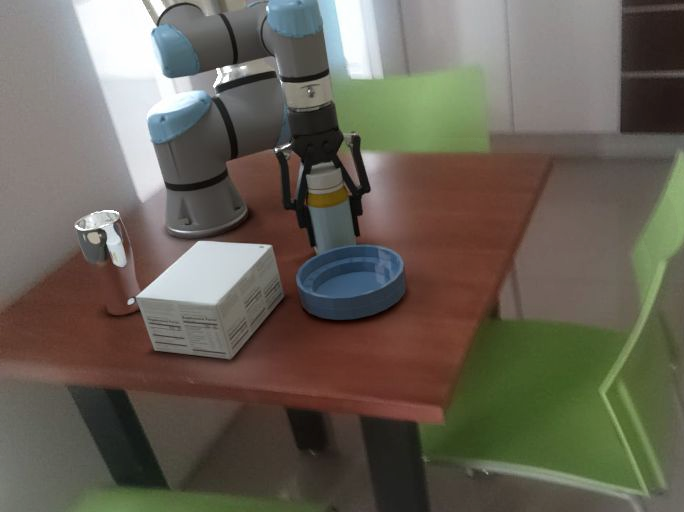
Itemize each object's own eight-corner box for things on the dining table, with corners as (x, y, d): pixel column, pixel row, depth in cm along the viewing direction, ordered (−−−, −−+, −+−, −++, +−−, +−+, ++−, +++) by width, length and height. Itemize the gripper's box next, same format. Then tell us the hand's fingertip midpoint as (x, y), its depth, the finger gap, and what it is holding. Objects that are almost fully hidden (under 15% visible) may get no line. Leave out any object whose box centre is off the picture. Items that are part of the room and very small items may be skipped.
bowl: (284, 293, 123) (279, 268, 121) (374, 259, 130) (371, 235, 127) (330, 337, 111) (324, 310, 109) (426, 297, 117) (423, 271, 115)
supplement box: (212, 291, 126) (197, 239, 121) (285, 297, 122) (273, 243, 117) (151, 351, 113) (132, 295, 108) (231, 360, 109) (215, 302, 104)
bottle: (350, 261, 130) (336, 176, 122) (310, 261, 131) (294, 177, 123) (361, 242, 135) (348, 159, 127) (323, 242, 137) (308, 160, 129)
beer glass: (124, 321, 121) (92, 233, 113) (95, 311, 124) (62, 226, 116) (158, 299, 126) (130, 213, 118) (129, 290, 129) (100, 207, 121)
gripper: (247, 123, 115) (278, 261, 127) (379, 98, 119) (397, 234, 131) (242, 109, 121) (272, 242, 133) (367, 86, 125) (385, 217, 137)
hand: (334, 238), depth 132 cm, fingers closed on bottle, 7 cm apart
